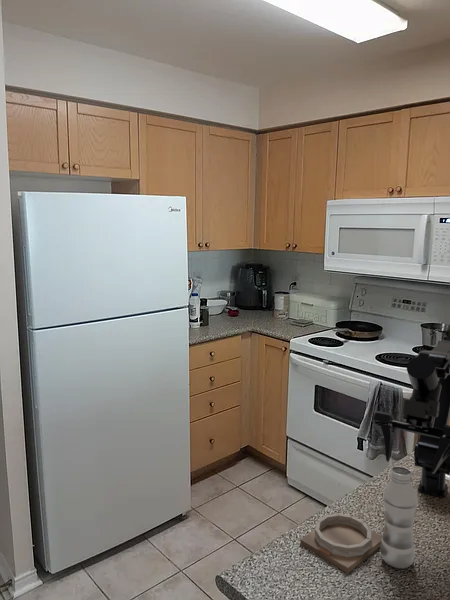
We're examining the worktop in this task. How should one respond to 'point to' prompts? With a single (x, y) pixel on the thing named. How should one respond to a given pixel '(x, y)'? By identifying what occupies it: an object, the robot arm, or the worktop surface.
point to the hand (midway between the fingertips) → (409, 466)
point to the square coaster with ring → (342, 540)
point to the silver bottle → (399, 519)
